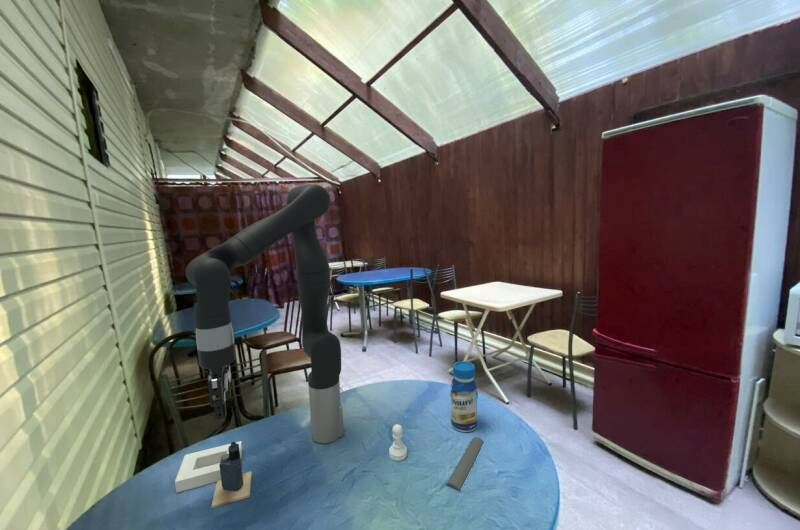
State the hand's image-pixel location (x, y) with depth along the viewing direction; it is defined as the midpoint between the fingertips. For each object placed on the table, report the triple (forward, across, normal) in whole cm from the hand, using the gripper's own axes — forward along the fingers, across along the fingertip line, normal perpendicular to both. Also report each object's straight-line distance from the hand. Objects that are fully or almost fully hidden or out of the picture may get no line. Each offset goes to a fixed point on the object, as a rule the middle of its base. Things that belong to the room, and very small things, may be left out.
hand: (223, 407), depth 77 cm
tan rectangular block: (+22, 0, 0) cm, 22 cm away
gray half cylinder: (+23, -15, -58) cm, 64 cm away
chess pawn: (+22, -5, -42) cm, 48 cm away
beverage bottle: (+22, -1, -66) cm, 70 cm away
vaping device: (+22, 0, 0) cm, 22 cm away
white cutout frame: (+22, +10, +6) cm, 25 cm away
